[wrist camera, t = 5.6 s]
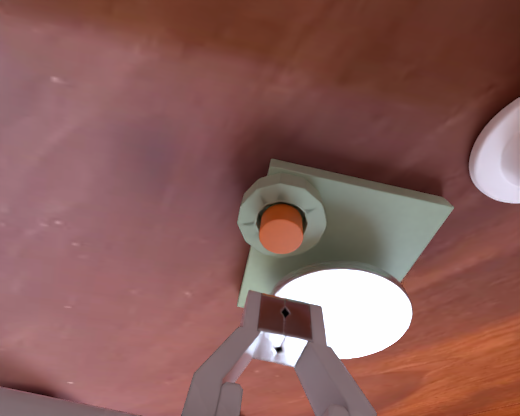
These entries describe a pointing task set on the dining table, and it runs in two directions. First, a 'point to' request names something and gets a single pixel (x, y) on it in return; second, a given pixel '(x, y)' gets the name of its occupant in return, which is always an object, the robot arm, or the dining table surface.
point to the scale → (337, 223)
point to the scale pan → (352, 304)
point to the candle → (498, 156)
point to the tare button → (281, 229)
